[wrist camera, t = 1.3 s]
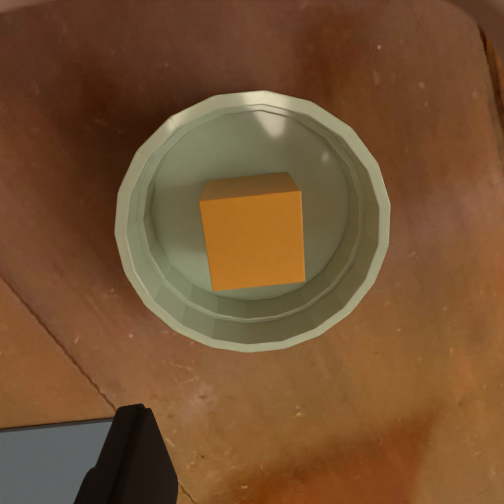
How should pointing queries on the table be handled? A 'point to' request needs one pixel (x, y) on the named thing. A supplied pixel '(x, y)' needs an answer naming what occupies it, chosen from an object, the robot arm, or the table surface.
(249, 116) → the celadon bowl
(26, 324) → the table surface
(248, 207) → the cube
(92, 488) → the robot arm
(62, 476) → the mat
